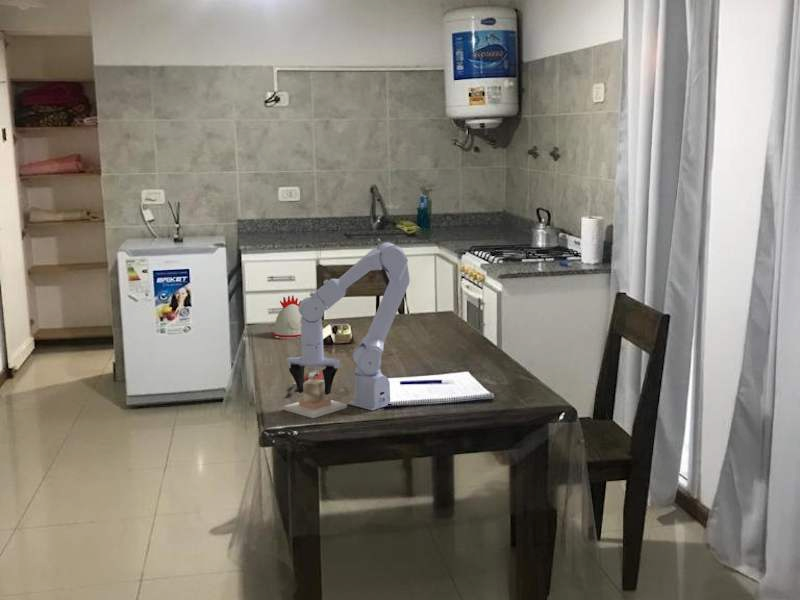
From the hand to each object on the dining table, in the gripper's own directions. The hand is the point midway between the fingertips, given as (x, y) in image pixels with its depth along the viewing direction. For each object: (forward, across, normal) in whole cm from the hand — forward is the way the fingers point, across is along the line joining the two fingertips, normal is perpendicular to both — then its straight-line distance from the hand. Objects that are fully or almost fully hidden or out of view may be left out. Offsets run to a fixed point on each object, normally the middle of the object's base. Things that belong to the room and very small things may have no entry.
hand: (314, 392), depth 248 cm
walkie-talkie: (+5, +10, -19) cm, 22 cm away
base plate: (+4, 0, 0) cm, 4 cm away
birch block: (+2, 0, 0) cm, 2 cm away
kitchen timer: (+5, +46, -86) cm, 98 cm away
